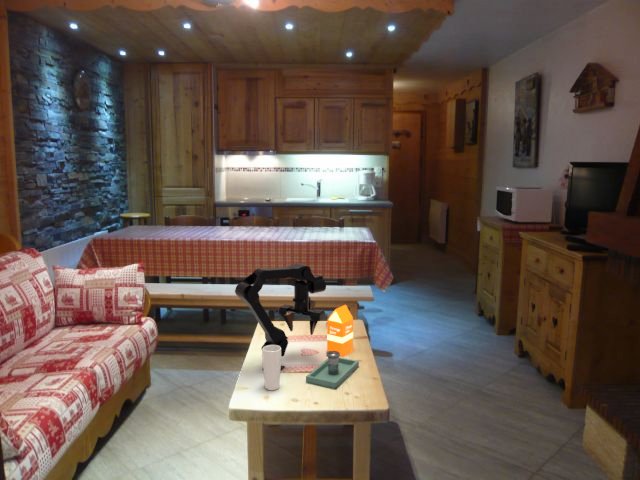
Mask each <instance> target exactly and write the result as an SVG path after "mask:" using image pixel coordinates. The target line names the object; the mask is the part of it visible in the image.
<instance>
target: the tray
mask: <svg viewBox="0 0 640 480" xmlns="http://www.w3.org/2000/svg"><path fill="white" fill-rule="evenodd" d="M359 364H360V361H359V360H355V359H350V358H344V357H339V373H338V374H337V375H330V374H328V358H327V359H326V360H324V361H323V362H321V364H319V365H318V366H316V368H315V369H313V370H312V371H311V372H310V373H309V374H307V375H306V376H305V383H306V384H309V385H313V386H319V387H323V388H327V389H332V390H337V389H338V388H339V387H340V386H341V385H342V384H343V383H344V382H345V381H346V380H348V378H349V377H350V376H351V375H352V374H353V373H354V372H356V370H357V369H358V368H359V367H360V365H359Z"/></svg>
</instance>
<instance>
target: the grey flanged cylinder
mask: <svg viewBox="0 0 640 480" xmlns="http://www.w3.org/2000/svg"><path fill="white" fill-rule="evenodd" d="M325 354H326V357H327V359H328V374H330V375H337V374H338V373H339V357H340V352H339V351H328V352H327V351H326V353H325ZM340 358H341V357H340Z"/></svg>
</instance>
